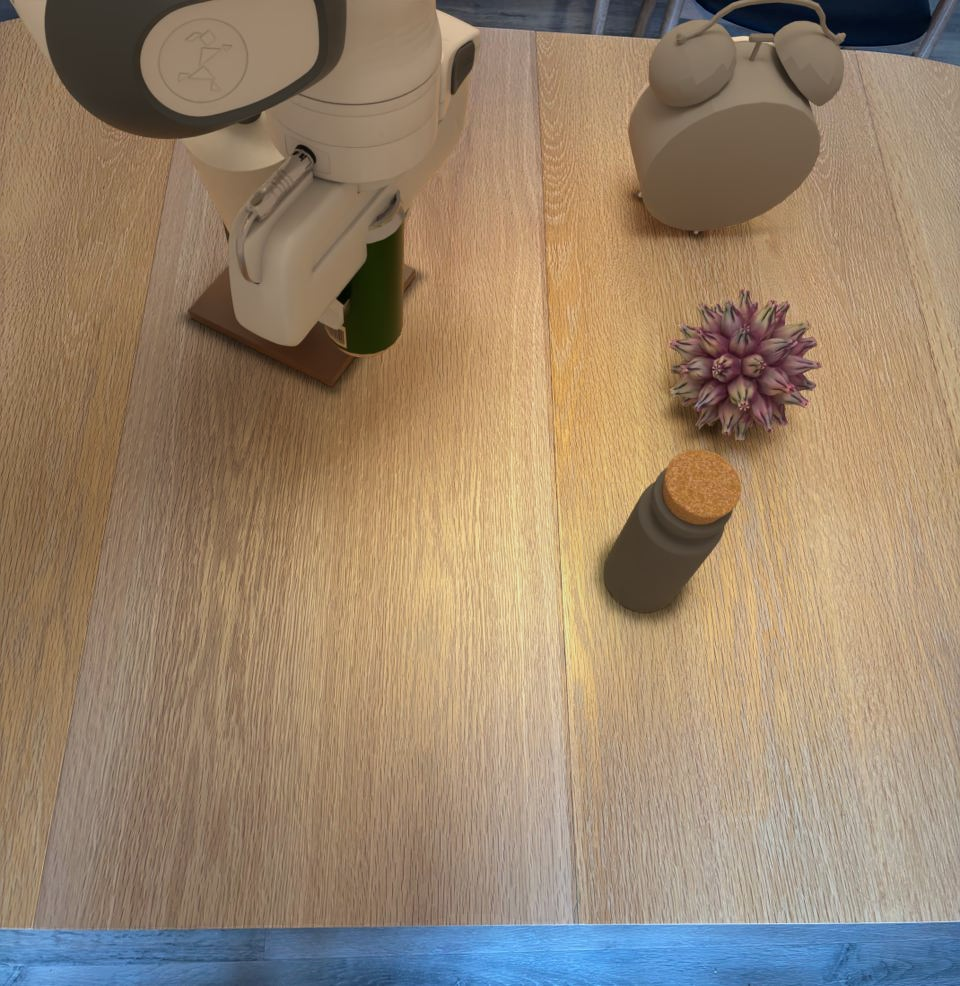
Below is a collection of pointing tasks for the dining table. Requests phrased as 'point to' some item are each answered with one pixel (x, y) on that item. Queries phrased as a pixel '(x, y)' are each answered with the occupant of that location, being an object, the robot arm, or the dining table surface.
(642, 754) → the dining table surface
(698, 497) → the bottle
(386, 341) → the beer can
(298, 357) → the holder base
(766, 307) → the flower
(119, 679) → the dining table surface
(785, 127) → the alarm clock
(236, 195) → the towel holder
